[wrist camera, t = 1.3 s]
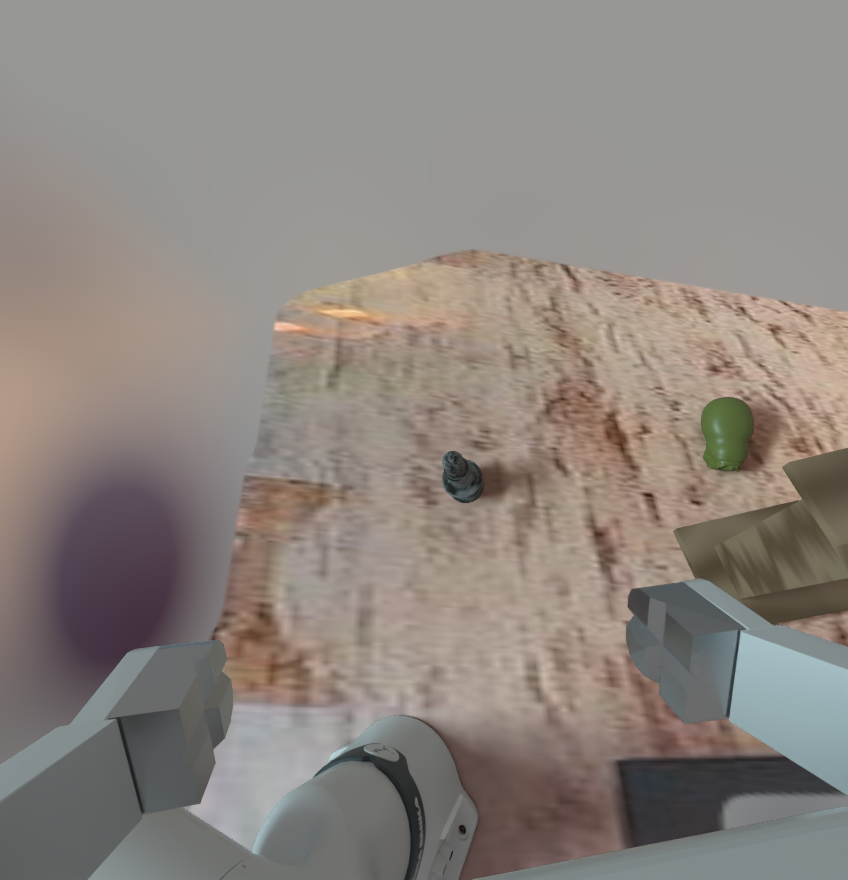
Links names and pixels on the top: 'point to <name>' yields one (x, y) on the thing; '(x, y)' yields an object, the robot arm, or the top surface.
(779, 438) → the top surface
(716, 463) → the pear
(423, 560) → the top surface
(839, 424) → the top surface
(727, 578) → the shelf stand
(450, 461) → the dark chess piece
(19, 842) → the robot arm
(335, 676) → the top surface
